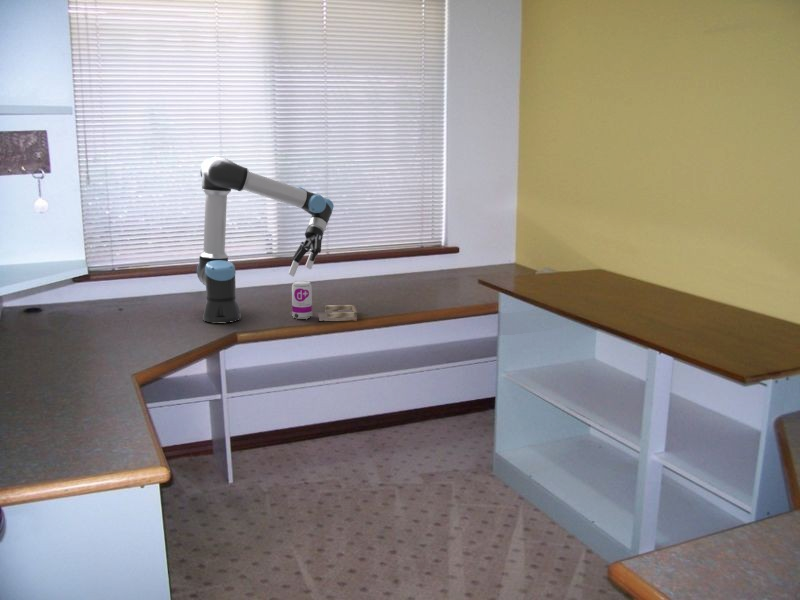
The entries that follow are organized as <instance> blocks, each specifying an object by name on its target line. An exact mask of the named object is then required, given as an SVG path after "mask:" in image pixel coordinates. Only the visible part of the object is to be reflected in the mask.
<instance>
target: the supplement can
mask: <svg viewBox="0 0 800 600" xmlns="http://www.w3.org/2000/svg"><path fill="white" fill-rule="evenodd" d="M291 311H292V312H291V315H292V316H293V317H292V318H294V317H296V318H305V317H310V316H312V317H313V286H312V284H311V281H308V280H295V281H293V282H292V285H291Z"/></svg>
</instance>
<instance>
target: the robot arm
mask: <svg viewBox="0 0 800 600" xmlns="http://www.w3.org/2000/svg"><path fill="white" fill-rule="evenodd" d="M199 169H200V170H199V172H200V177H201V181H202V182H201V190H202V191H203V193H204V198H205V199H204V201H205V202H204V203H205V204H204V223H203V224H204V227H203V228H204V229H203V230H204V231H203V251H202V252H201V253H200V254H199V262H198V265H197V268H196V275H197V277H198V280H199V281H200V283H202V284H203V285H204V286H205V290H206V291H205V292H206V293H205V295H206V296H205V297H206V301H205V302H206V303H205V305H204V310H203V313H202V321H203V320H204V321H203V322H205V321H208V322H230V321H235V320H238V319H240V318H241V319H242V315H241V314H242V313H241V310H240V308H239V306H238V302H237V297H236V295H237V293H236V287H237V286H236V267H235V264H234V263H233V262H231V261H229V256H228V254H227V253H226V252H225V251H226V249H225V248H226V226H227V223H226V222H227V207H228V205H227V203H228V194H230V193H231V192H232V190H234V191H238V192H242V191H246V192H248V193H252V194H256V195H258V196H261V197H265V198H268V199H271V200H274V201H277V202H281V203H284V204H287V205H290V206H294V207H296V208H299V209H302V210H303V211H305V212H307V213H308V214H310V216H311V217H310V219H309V222H308V225H307V227H306V230H305V233H304V236H305V240H304V241H301V242H300V245H299V247H298V248H297V249H296V251H295V252H294V254H293V256H292V257H291V259H290V261H291V262H292V263H291V266H290V268H289V271H288V273H287V274H288V275H290V276H291V277H295V275H296V273H297V269H298V267H299V265H300V262H301V260H302V259H303V258H304V256H305V255H306V253H308V252H309V251H310V252H309V255H308V258H307V261H306V263H305V265H304V266H305V267H306V268H307V269H309V270H312V269H313V268H312V267H313V265H314V264H315V263H314V262H315V260H316V257H317V256H318V255H319V254H320V253H321V252H322V241H323V239H324V238H323V237H324V233H325V231H326V230H327V225H328V223H329V221H330V218H331V216H332V214H333V210H334V207H335V206H334V203H333V201H332V200H330V199H329V198H326V197H324V196H322V195H321V194H318V193H317V194H316V193H314V192H311V191H308V190H306V189H305V188H303V187H301V186H293V185H290V184H287V183H285V182H284V183H283V182H282V181H278V180H276V179H271V178H270V177H267V176H263V175H260V174H257V173H254V172H251V171H250V170H249V169H248V168H247V167H244V166H242V165H240V164H237V163H236V162H233V161H232V160H230V159H228V158H226V157H225V158H224V157H221V156H210V157H208V158H206V159H205V160H204V161H203V162H202V163H201V166H200V168H199ZM241 319H240V320H241Z"/></svg>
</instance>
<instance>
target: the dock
mask: <svg viewBox="0 0 800 600" xmlns="http://www.w3.org/2000/svg"><path fill="white" fill-rule="evenodd" d="M338 310H352V312H332V313H327V318H344V317H357V318H358V311H357V309H356V306H355V304H343V305H342V304H338V305H337V304H333V305H325V310H324V311H325V312H326V311H338Z"/></svg>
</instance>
